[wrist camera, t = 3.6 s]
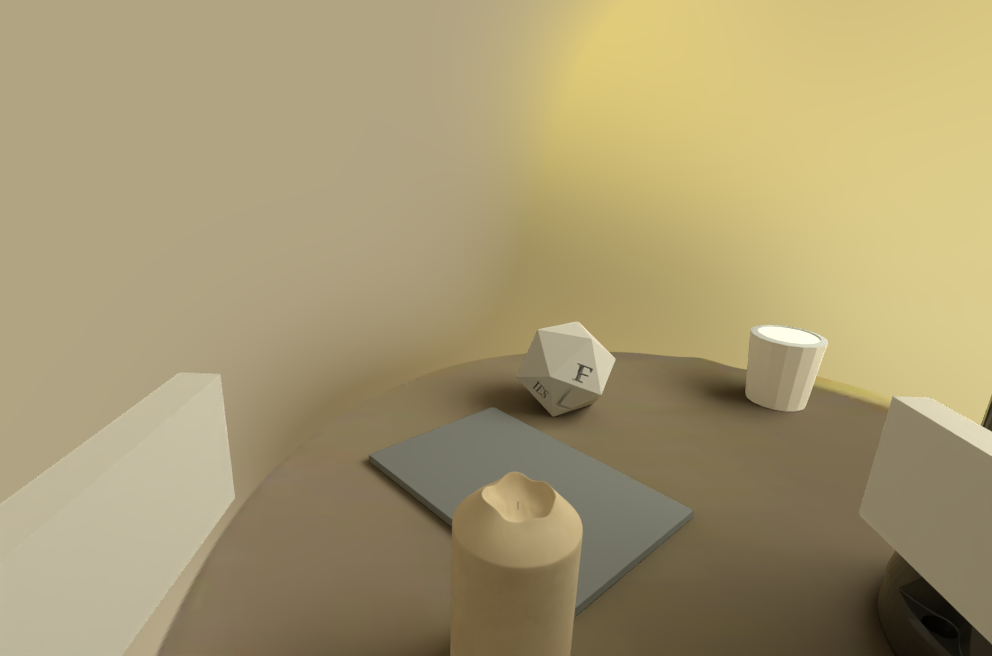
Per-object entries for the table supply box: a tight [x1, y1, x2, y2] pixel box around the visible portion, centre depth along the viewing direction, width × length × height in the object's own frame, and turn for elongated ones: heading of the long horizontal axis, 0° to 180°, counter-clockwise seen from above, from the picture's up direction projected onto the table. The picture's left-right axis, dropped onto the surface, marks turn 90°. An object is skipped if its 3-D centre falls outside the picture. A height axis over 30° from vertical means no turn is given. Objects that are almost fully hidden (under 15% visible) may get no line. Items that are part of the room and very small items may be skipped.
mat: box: [369, 407, 694, 617], centre depth 40 cm, size 20×13×1 cm, turn 43°
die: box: [516, 321, 615, 417], centre depth 52 cm, size 8×9×10 cm
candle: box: [450, 472, 583, 656], centre depth 24 cm, size 6×6×10 cm
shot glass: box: [745, 325, 828, 412], centre depth 55 cm, size 7×7×7 cm
